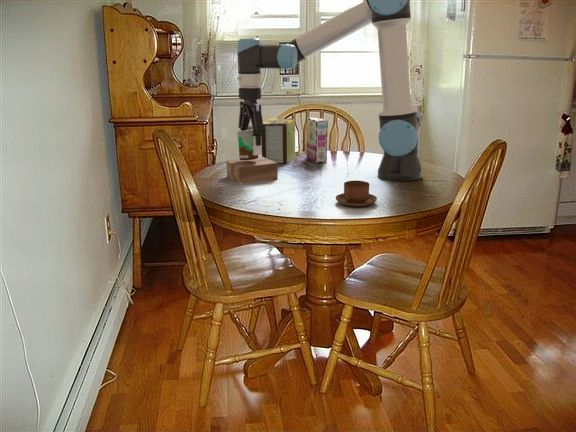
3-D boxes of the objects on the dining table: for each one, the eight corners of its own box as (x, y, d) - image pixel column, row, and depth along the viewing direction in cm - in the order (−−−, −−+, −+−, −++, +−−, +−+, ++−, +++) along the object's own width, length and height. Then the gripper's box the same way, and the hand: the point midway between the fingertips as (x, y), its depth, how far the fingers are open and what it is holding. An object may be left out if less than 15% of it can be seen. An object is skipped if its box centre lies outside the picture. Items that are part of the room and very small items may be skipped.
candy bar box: (327, 162, 224) (328, 120, 219) (315, 163, 222) (316, 121, 218) (317, 157, 234) (318, 116, 229) (306, 158, 233) (306, 117, 228)
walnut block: (277, 180, 198) (277, 162, 196) (240, 184, 192) (239, 167, 190) (263, 173, 208) (262, 156, 207) (227, 177, 202) (226, 160, 200)
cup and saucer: (373, 211, 161) (374, 189, 159) (331, 208, 164) (332, 187, 163) (379, 199, 172) (379, 179, 170) (339, 197, 175) (340, 177, 174)
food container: (255, 161, 190) (255, 131, 187) (238, 161, 192) (237, 131, 189) (265, 154, 202) (265, 126, 199) (249, 154, 203) (248, 126, 200)
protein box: (295, 156, 236) (295, 118, 232) (287, 164, 222) (287, 123, 217) (270, 155, 238) (270, 117, 234) (261, 163, 224) (260, 123, 219)
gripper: (227, 84, 200) (230, 147, 206) (251, 89, 179) (253, 159, 186) (248, 84, 203) (249, 145, 209) (273, 88, 182) (274, 157, 189)
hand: (251, 152), depth 197 cm, fingers closed on food container, 11 cm apart
